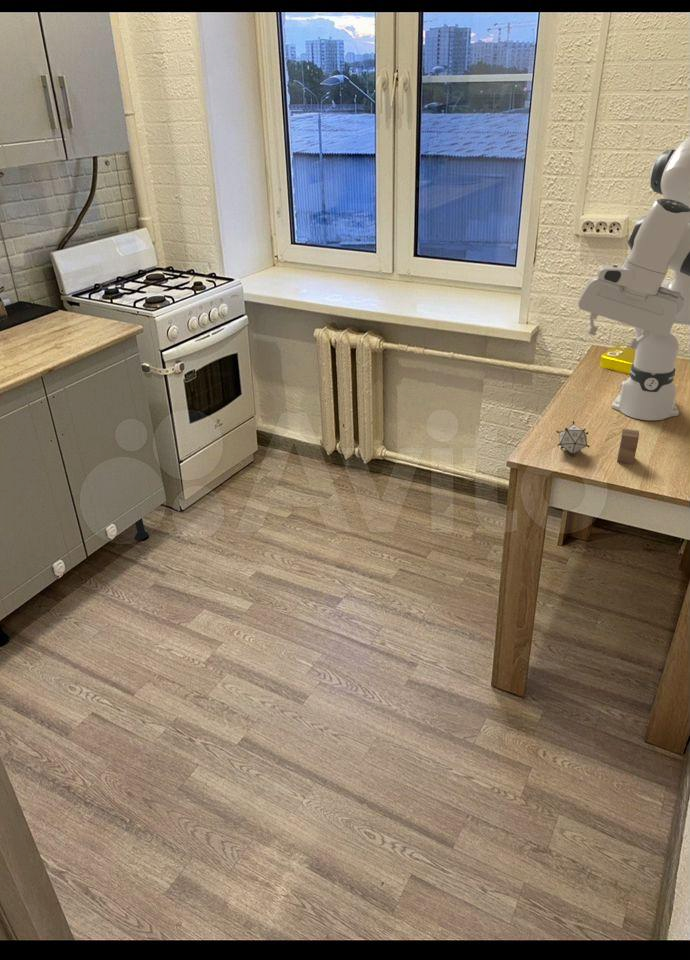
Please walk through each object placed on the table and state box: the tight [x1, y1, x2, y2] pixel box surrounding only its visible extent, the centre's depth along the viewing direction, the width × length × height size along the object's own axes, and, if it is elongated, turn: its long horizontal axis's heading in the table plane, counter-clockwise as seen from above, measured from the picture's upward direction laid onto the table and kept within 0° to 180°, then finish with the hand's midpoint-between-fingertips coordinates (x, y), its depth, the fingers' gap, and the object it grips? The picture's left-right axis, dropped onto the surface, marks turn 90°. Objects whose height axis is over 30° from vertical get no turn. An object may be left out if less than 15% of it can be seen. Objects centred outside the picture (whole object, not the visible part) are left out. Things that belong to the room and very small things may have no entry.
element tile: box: [599, 344, 636, 375], centre depth 243 cm, size 15×15×5 cm
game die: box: [556, 420, 591, 458], centre depth 190 cm, size 9×8×10 cm
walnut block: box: [616, 428, 640, 465], centre depth 186 cm, size 4×4×8 cm
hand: (611, 341), depth 157 cm, fingers open, 8 cm apart
